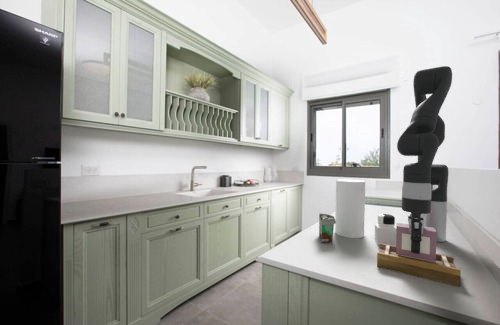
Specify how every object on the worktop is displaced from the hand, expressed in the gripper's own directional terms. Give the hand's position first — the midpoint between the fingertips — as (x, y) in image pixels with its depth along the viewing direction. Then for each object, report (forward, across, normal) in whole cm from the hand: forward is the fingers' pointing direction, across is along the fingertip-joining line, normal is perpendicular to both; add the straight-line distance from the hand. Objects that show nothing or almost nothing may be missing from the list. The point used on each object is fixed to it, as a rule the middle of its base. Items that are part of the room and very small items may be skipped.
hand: (414, 249), depth 73 cm
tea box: (+2, 0, 0) cm, 2 cm away
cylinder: (+6, +26, +24) cm, 36 cm away
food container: (+6, +11, +30) cm, 33 cm away
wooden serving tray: (+6, 0, 0) cm, 6 cm away
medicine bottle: (+6, +21, +9) cm, 24 cm away
